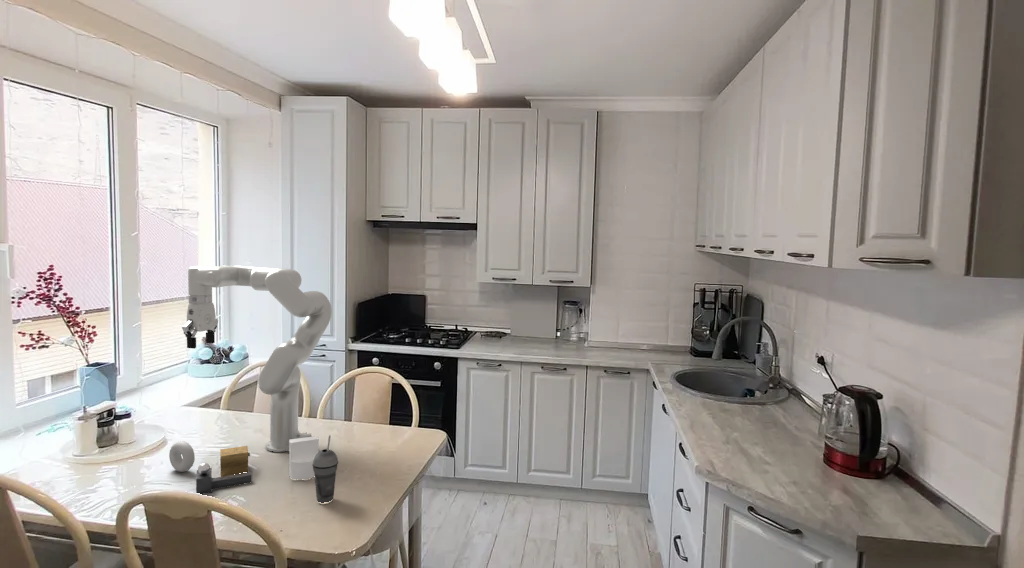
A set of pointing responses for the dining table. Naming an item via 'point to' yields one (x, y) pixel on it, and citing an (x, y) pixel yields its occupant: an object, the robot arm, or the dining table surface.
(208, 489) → the rail
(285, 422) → the robot arm
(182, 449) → the donut
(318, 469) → the beverage cup
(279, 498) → the dining table surface
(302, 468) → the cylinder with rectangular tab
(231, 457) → the block
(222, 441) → the dining table surface
